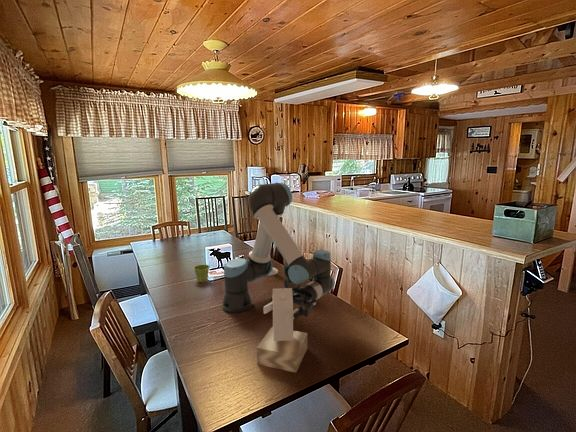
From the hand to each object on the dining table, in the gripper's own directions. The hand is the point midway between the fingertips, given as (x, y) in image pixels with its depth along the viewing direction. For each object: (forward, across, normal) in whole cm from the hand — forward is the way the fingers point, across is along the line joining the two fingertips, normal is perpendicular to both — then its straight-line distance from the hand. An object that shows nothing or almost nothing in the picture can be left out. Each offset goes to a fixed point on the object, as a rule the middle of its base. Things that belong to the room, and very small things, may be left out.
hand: (275, 314), depth 115 cm
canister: (-51, +30, -19) cm, 62 cm away
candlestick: (-67, +62, -19) cm, 93 cm away
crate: (-4, 0, -19) cm, 20 cm away
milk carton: (-4, 0, -11) cm, 12 cm away
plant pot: (-32, +85, -19) cm, 93 cm away
